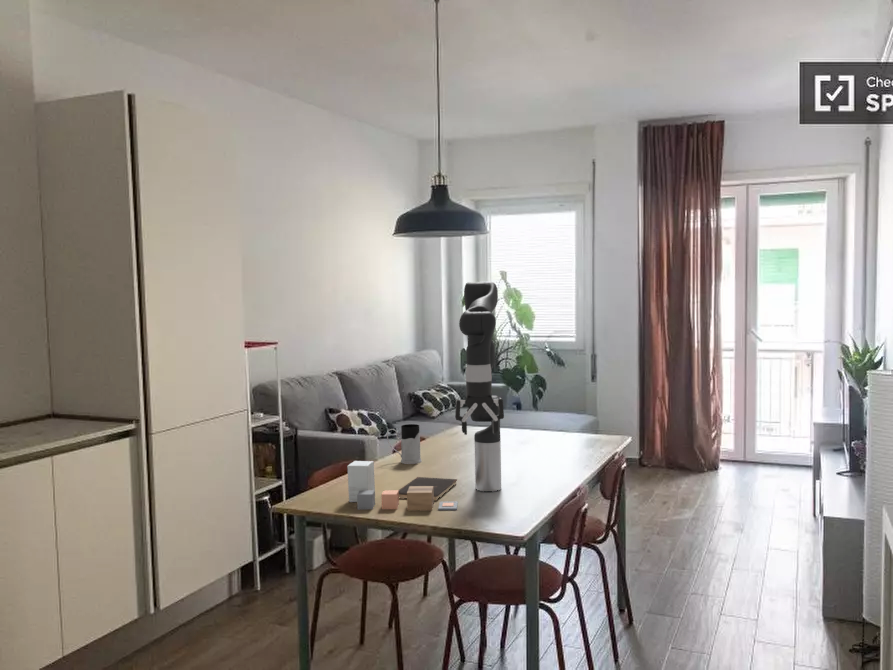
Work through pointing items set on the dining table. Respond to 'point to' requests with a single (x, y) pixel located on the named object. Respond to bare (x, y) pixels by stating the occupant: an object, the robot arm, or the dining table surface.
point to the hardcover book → (437, 483)
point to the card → (448, 505)
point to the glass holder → (409, 443)
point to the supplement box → (360, 478)
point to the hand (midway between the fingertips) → (479, 433)
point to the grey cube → (366, 499)
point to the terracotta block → (390, 499)
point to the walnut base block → (420, 498)
